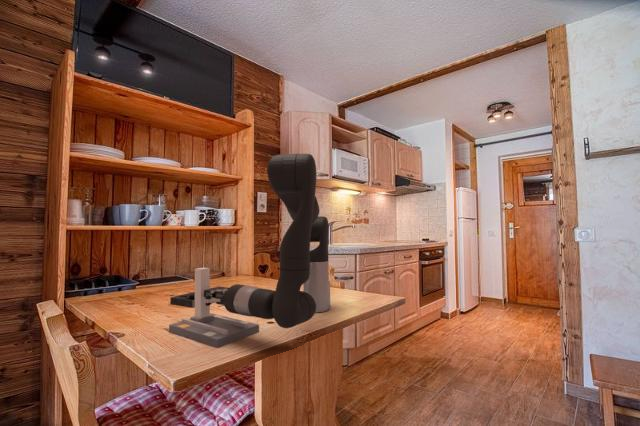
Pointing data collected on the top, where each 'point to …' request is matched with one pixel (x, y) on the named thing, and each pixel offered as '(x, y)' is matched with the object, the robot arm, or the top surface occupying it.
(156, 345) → the top surface
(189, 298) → the black rectangular tray
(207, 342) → the switch panel
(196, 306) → the switch tab
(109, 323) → the top surface
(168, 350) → the top surface
